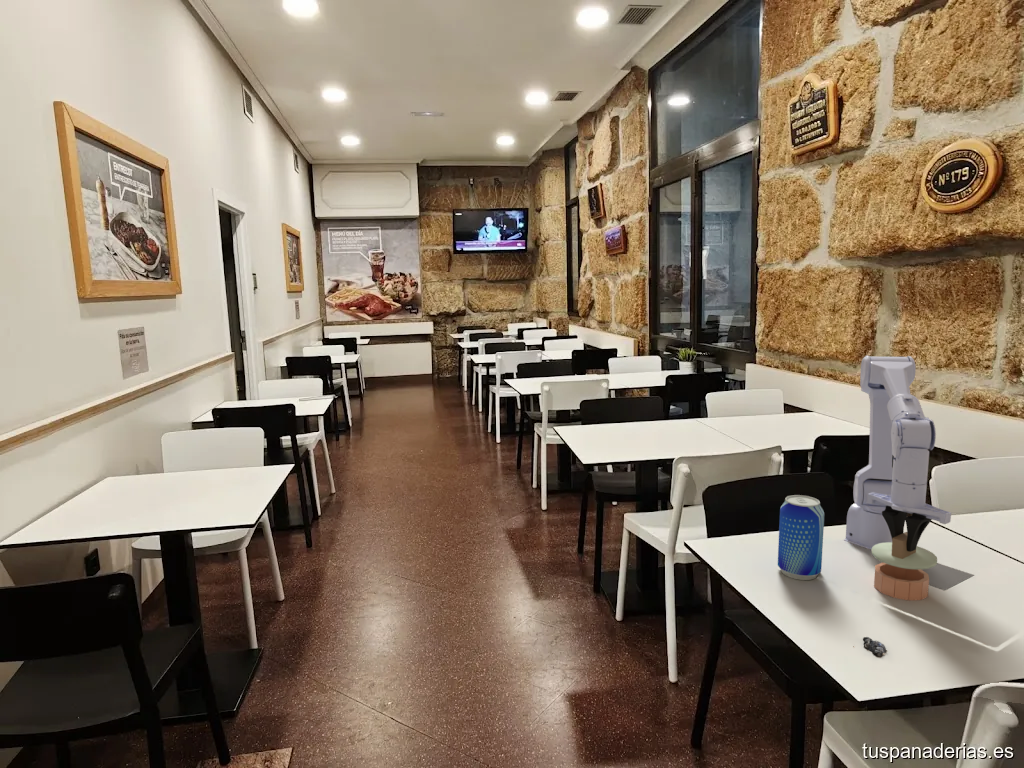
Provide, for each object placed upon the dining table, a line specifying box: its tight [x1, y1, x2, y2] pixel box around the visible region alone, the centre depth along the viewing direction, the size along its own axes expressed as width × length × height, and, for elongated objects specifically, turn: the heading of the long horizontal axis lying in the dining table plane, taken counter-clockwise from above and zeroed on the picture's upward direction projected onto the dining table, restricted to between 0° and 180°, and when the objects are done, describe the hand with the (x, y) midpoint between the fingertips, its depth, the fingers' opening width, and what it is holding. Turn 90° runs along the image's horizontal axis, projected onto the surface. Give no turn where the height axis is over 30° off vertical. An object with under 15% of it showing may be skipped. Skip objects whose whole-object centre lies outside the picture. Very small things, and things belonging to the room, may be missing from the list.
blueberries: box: [853, 636, 888, 658], centre depth 108 cm, size 7×8×2 cm
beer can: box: [777, 494, 825, 581], centre depth 135 cm, size 8×8×16 cm
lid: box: [871, 531, 938, 570], centre depth 126 cm, size 11×11×4 cm
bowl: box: [873, 562, 930, 601], centre depth 127 cm, size 9×9×4 cm
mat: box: [921, 562, 975, 591], centre depth 134 cm, size 12×12×1 cm
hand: (904, 547), depth 126 cm, fingers closed on lid, 2 cm apart
